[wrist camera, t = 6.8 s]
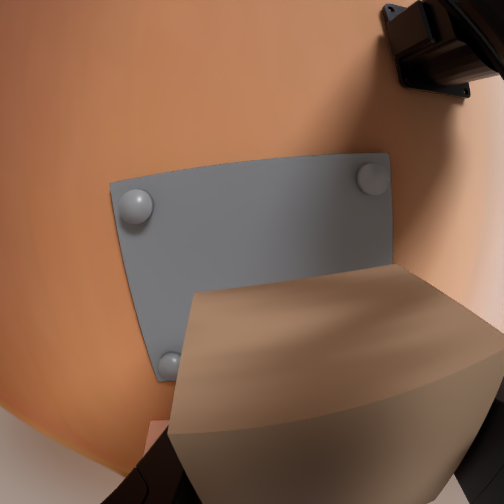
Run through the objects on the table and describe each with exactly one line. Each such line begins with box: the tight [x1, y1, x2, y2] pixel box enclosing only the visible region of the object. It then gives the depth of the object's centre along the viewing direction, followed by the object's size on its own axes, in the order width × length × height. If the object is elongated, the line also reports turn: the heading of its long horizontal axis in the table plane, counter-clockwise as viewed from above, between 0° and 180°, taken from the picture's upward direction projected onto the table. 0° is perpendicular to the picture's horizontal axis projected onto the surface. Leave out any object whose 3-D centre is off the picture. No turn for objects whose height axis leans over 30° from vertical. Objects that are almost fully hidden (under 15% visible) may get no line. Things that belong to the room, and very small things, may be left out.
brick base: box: [167, 264, 504, 504], centre depth 7 cm, size 6×6×5 cm
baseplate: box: [110, 153, 393, 382], centre depth 17 cm, size 16×13×1 cm
